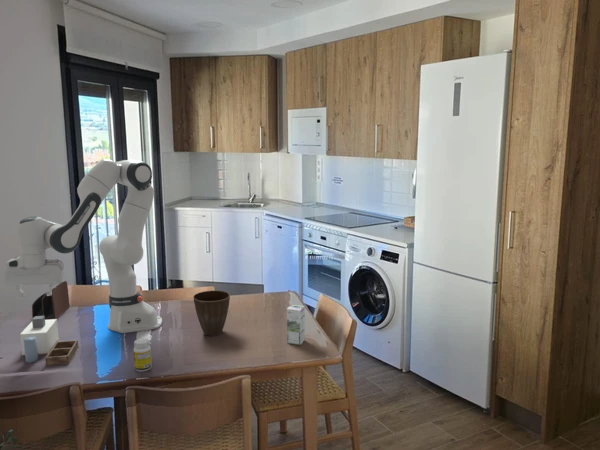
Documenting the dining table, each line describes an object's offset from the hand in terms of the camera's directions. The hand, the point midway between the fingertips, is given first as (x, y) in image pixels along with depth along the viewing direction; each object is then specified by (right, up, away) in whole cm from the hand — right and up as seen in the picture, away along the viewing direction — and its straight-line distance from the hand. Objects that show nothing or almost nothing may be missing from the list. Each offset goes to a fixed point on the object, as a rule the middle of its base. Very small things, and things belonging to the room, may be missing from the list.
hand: (36, 295), depth 198 cm
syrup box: (+99, -20, +9) cm, 101 cm away
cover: (0, -20, +3) cm, 20 cm away
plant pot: (+64, -18, +19) cm, 69 cm away
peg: (+3, -23, -9) cm, 25 cm away
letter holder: (-15, -15, +45) cm, 49 cm away
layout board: (0, -21, +3) cm, 21 cm away
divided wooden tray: (+13, -22, -5) cm, 26 cm away
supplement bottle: (+45, -24, -14) cm, 53 cm away
